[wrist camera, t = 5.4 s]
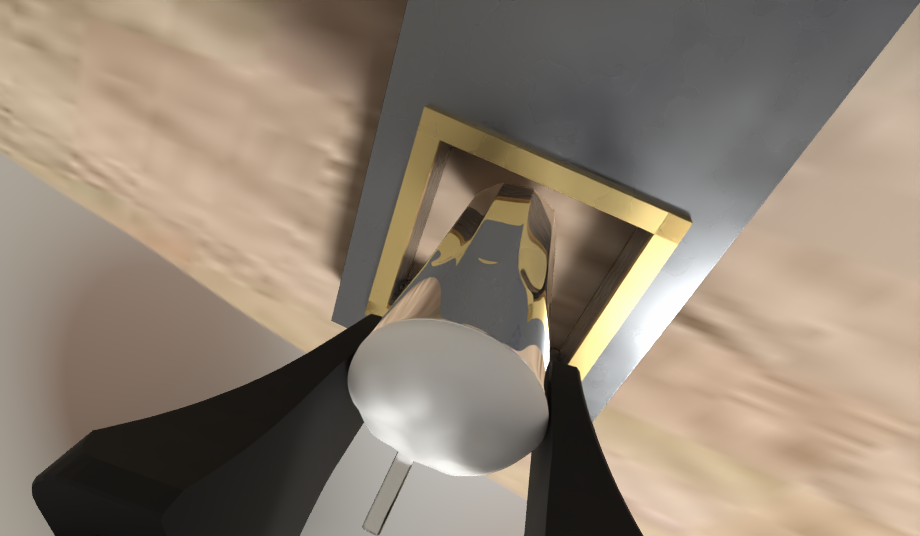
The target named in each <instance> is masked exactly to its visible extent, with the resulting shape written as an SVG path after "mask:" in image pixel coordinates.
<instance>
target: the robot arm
mask: <svg viewBox="0 0 920 536" xmlns="http://www.w3.org/2000/svg"><path fill="white" fill-rule="evenodd" d="M381 319H382V316H378V315H375V314H370V315H368V316H366V317H365V318H363V319H361V320H360V321H358V322H357V323H355V324H354V325H352V326H350V327H349V328H347V329H346V330H344V331H343V332H341V333H340V334H338V335H336V336H335V337H333V338H332V339H330V340H328V341H327V342H325V343H324V344H322V345H320V346H319V347H317V348H315V349H314V350H312V351H310V352H309V353H307V354H305V355H303V356H302V357H300V358H298V359H296V360H295V361H293V362H291V363H289V364H287V365H285V366H284V367H282V368H280V369H278V370H276V371H274V372H272V373H270V374H268V375H266V376H263V377H261V378H259V379H257V380H254V381H253V382H250V383H248V384H246V385H244V386H241V387H239V388H236V389H233V390H231V391H228V392H225V393H223V394H220V395H217V396H215V397H213V398H209V399H207V400H204V401H201V402H198V403H196V404H193V405H189V406H186V407H183V408H180V409H177V410H173V411H170V412H166V413H163V414H160V415H156V416H152V417H149V418H145V419H141V420H137V421H132V422H128V423H124V424H120V425H116V426H111V427H107V428H103V429H98V430H93V431H92V432H91V433H89V434H88V435H87V436H85V437H84V438H83V439H82V440H81V441H79V442H78V443H77V444H76V445H75V446H73V448H71V449H70V450H69V451H67V452H66V453H65V454H64V455H62V456H61V457H60V458H59V459H58V460H56V461H55V462H54V463H53V464H51V465H50V466H49V467H48V468H47V469H45V470H44V471H43V472H42V473H41V474H39V475H38V476H37V477H36V478H35V480H34V481H33V483H32V496H33V498H34V500H35V502H36V505H37V506H38V508H39V510H40V511H41V513H42V515H43V516H44V518H45V520H46V521H47V523H48V525H49V526H50V528H51V530H52V531H53V533H54V535H55V536H300V534H301V532H302V529H303V527H304V525H305V523H306V521H307V519H308V517H309V515H310V513H311V511H312V509H313V507H314V505H315V503H316V501H317V499H318V497H319V495H320V493H321V491H322V490H323V487H324V486H325V484H326V482H327V480H328V479H329V477H330V475H331V473H332V472H333V470H334V468H335V467H336V465H337V463H338V462H339V461H340V459H341V457H342V456H343V454H344V453H345V451H346V450H347V448H348V446H349V445H350V443H351V442H352V440H353V439H354V437H355V435H356V434H357V432H358V431H359V429H360V428H361V426H362V424H363V423H364V420H363V418H362V416H361V414H360V411H359V410H358V408H357V407H356V406H355V404H354V403H353V401H352V398H351V395H350V392H349V389H348V371H349V367H350V364H351V362H352V359H353V357H354V355H355V353H356V351H357V349H358V348H359V346H360V345H361V343H362V342H363V341H364V340H365V339H366V337H367V336H368V335H369V334H370V332H371V331H372V330H373V329H374V327H375V326H376V325H377V324H378V322H379V321H380V320H381ZM548 411H549V420H548V426H547V431H546V434H545V436H544V438H543V440H542V442H541V443H540V444H539V445H538V447H537V448H536V449H534V450H533V451H532V454H531V465H530V476H529V488H528V499H527V511H526V522H525V534H524V536H643V534H642V533H641V531H640V529H639V528H638V526H637V524H636V522H635V520H634V518H633V516H632V515H631V513H630V511H629V509H628V507H627V505H626V503H625V501H624V499H623V497H622V495H621V493H620V491H619V489H618V487H617V485H616V483H615V480H614V478H613V476H612V474H611V471H610V469H609V467H608V464H607V462H606V459H605V457H604V454H603V452H602V449H601V447H600V444H599V441H598V439H597V436H596V433H595V430H594V427H593V424H592V421H591V418H590V414H589V411H588V408H587V404H586V400H585V396H584V392H583V387H582V382H581V377H580V371H579V369H578V368H577V367H575V366H571V365H567V364H564V363H560V362H556V361H553V364H552V368H551V371H550V375H549V399H548Z"/></svg>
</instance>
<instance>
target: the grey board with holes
mask: <svg viewBox="0 0 920 536" xmlns="http://www.w3.org/2000/svg"><path fill="white" fill-rule="evenodd" d="M919 3H920V0H408V2H407V6H406V10H405V14H404V18H403V23H402V27H401V31H400V35H399V39H398V44H397V48H396V52H395V56H394V60H393V65H392V69H391V73H390V77H389V81H388V85H387V90H386V94H385V98H384V102H383V106H382V111H381V115H380V119H379V123H378V127H377V132H376V136H375V140H374V144H373V148H372V153H371V157H370V161H369V165H368V169H367V173H366V178H365V182H364V186H363V190H362V194H361V199H360V203H359V207H358V211H357V215H356V220H355V224H354V228H353V232H352V236H351V241H350V245H349V249H348V253H347V257H346V262H345V266H344V270H343V274H342V278H341V282H340V287H339V291H338V295H337V299H336V303H335V308H334V312H333V316H332V320H331V321H333V322H335V323H337V324H340V325H342V326H344V327H346V328H349V327H350V326H352V325H354V324H355V323H357V322H358V321H360V320H361V319H363V318H365V317H366V316H368V315H370V314H375V315H378V316H382V317H383V316H384V315H385V314H386V312H387V311H388V310H389V309H390V307H391V306H392V305H393V304H394V302H395V301H396V300H397V299H398V297H399V296H400V295H401V294H402V292H403V291H404V290H405V289H406V287H407V286H408V285H409V284H410V282H408V281H406V280H407V277H408V274H409V271H410V268H411V265H412V262H413V259H414V256H415V253H416V251H417V248H418V245H419V242H420V239H421V236H422V233H423V230H424V227H425V224H426V221H427V218H428V215H429V212H430V209H431V206H432V203H433V200H434V197H435V194H436V191H437V188H438V185H439V182H440V179H441V176H442V173H443V170H444V167H445V164H446V161H447V158H448V155H449V152H450V149H451V146H455V147H457V148H459V149H462V150H464V151H466V152H468V153H471V154H473V155H475V156H478V157H480V158H482V159H484V160H487V161H489V162H491V163H494V164H496V165H498V166H500V167H503V168H505V169H507V170H510V171H512V172H514V173H516V174H519V175H521V176H523V177H525V178H528V179H530V180H532V181H535V182H537V183H539V184H541V185H544V186H546V187H548V188H551V189H553V190H555V191H557V192H560V193H562V194H564V195H567V196H569V197H571V198H573V199H576V200H578V201H580V202H583V203H585V204H587V205H589V206H592V207H594V208H596V209H599V210H601V211H603V212H605V213H608V214H610V215H612V216H615V217H617V218H619V219H621V220H624V221H626V222H628V223H630V224H633V225H635V226H637V228H636V230H635V231H634V233H633V235H632V236H631V238H630V239H629V241H628V243H627V244H626V246H625V247H624V249H623V250H622V252H621V254H620V255H619V257H618V258H617V260H616V262H615V263H614V265H613V266H612V268H611V269H610V271H609V273H608V274H607V276H606V277H605V279H604V281H603V282H602V284H601V285H600V287H599V288H598V290H597V292H596V293H595V295H594V296H593V298H592V300H591V301H590V303H589V304H588V306H587V307H586V309H585V311H584V312H583V314H582V315H581V317H580V319H579V320H578V322H577V323H576V325H575V326H574V328H573V330H572V331H571V333H570V334H569V336H568V338H567V339H566V341H565V342H564V344H563V345H562V347H561V349H560V350H559V351H558V350H556V349H554V348H551V347H550V362H549V375H550V371H551V368H552V364H553V361H556V362H560V363H564V364H567V365H571V366H575V367H577V368H578V369H579V371H580V377H581V382H582V387H583V392H584V396H585V400H586V404H587V408H588V411H589V414H590V418H591V421H592V422H593V421H594V419H595V418H596V417H597V416H598V414H599V413H600V412H601V410H602V409H603V408H604V407H605V405H606V404H607V403H608V401H609V400H610V399H611V398H612V396H613V395H614V394H615V392H616V391H617V390H618V389H619V387H620V386H621V385H622V383H623V382H624V381H625V380H626V378H627V377H628V376H629V375H630V373H631V372H632V371H633V369H634V368H635V367H636V366H637V364H638V363H639V362H640V360H641V359H642V358H643V357H644V355H645V354H646V353H647V351H648V350H649V349H650V348H651V346H652V345H653V344H654V342H655V341H656V340H657V339H658V337H659V336H660V335H661V333H662V332H663V331H664V330H665V328H666V327H667V326H668V325H669V323H670V322H671V321H672V319H673V318H674V317H675V316H676V314H677V313H678V312H679V310H680V309H681V308H682V307H683V305H684V304H685V303H686V301H687V300H688V299H689V298H690V296H691V295H692V294H693V292H694V291H695V290H696V289H697V287H698V286H699V285H700V283H701V282H702V281H703V280H704V278H705V277H706V276H707V275H708V273H709V272H710V271H711V269H712V268H713V267H714V266H715V264H716V263H717V262H718V260H719V259H720V258H721V257H722V255H723V254H724V253H725V251H726V250H727V249H728V248H729V246H730V245H731V244H732V242H733V241H734V240H735V239H736V237H737V236H738V235H739V233H740V232H741V231H742V230H743V228H744V227H745V226H746V224H747V223H748V222H749V221H750V219H751V218H752V217H753V216H754V214H755V213H756V212H757V210H758V209H759V208H760V207H761V205H762V204H763V203H764V201H765V200H766V199H767V198H768V196H769V195H770V194H771V192H772V191H773V190H774V189H775V187H776V186H777V185H778V183H779V182H780V181H781V180H782V178H783V177H784V176H785V174H786V173H787V172H788V171H789V169H790V168H791V167H792V166H793V164H794V163H795V162H796V160H797V159H798V158H799V157H800V155H801V154H802V153H803V151H804V150H805V149H806V148H807V146H808V145H809V144H810V142H811V141H812V140H813V139H814V137H815V136H816V135H817V133H818V132H819V131H820V130H821V128H822V127H823V126H824V124H825V123H826V122H827V121H828V119H829V118H830V117H831V116H832V114H833V113H834V112H835V110H836V109H837V108H838V107H839V105H840V104H841V103H842V101H843V100H844V99H845V98H846V96H847V95H848V94H849V92H850V91H851V90H852V89H853V87H854V86H855V85H856V83H857V82H858V81H859V80H860V78H861V77H862V76H863V74H864V73H865V72H866V71H867V69H868V68H869V67H870V66H871V64H872V63H873V62H874V60H875V59H876V58H877V57H878V55H879V54H880V53H881V51H882V50H883V49H884V48H885V46H886V45H887V44H888V42H889V41H890V40H891V39H892V37H893V36H894V35H895V33H896V32H897V31H898V30H899V28H900V27H901V26H902V24H903V23H904V22H905V21H906V19H907V18H908V17H909V15H910V14H911V13H912V12H913V10H914V9H915V8H916V7H917V5H918V4H919Z"/></svg>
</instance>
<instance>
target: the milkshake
mask: <svg viewBox="0 0 920 536" xmlns="http://www.w3.org/2000/svg"><path fill="white" fill-rule="evenodd" d="M555 250H556V228H555V216H554V209H553V208H552V207H551V206H550V205H549V204H548V203H547V202H546V201H545V200H544V199H543V198H542V197H541V196H540V195H539V193H538V192H537V191H536V190H535V189H533V188H529V187H525V186H520V185H516V184H512V183H508V182H503V183H500V184H497V185H495V186H492V187H490V188H487V189H484V190H482V191H479V192H478V193H477V194H476V195H475V197H474V198H473V199H472V201H471V202H470V204H469V205H468V206H467V208H466V209H465V210H464V212H463V213H462V215H461V216H460V217H459V219H458V220H457V221H456V223H455V224H454V226H453V227H452V228H451V230H450V231H449V232H448V234H447V235H446V237H445V238H444V239H443V241H442V242H441V243H440V245H439V246H438V248H437V249H436V250H435V252H434V253H433V254H432V256H431V257H430V258H429V260H428V261H427V262H426V264H425V265H424V266H423V268H422V269H421V270H420V271H419V273H418V274H417V275H416V276H415V278H414V279H413V280H412V281H411V282H410V284H409V285H408V286H407V287H406V289H405V290H404V291H403V292H402V294H401V295H400V296H399V297H398V299H397V300H396V301H395V302H394V304H393V305H392V306H391V307H390V309H389V310H388V311H387V312H386V314H385V315H384V316H383V317H382V319H381V320H380V321H379V322H378V324H377V325H376V326H375V327H374V329H373V330H372V331H371V332H370V334H369V335H368V336H367V337H366V339H365V340H364V341H363V342H362V343H361V345H360V346H359V348H358V349H357V351H356V353H355V355H354V357H353V359H352V362H351V364H350V367H349V371H348V389H349V392H350V395H351V398H352V401H353V403H354V404H355V406H356V407H357V408H358V410H359V411H360V414H361V416H362V418H363V420H364V423H365V424H366V426H367V428H368V429H369V431H370V432H371V433H372V434H373V435H374V436H375V437H377V438H378V439H379V440H381V441H382V442H384V443H386V444H388V445H390V446H391V447H393V448H394V449H396V450H397V451H398V452H397V454H396V456H395V458H394V461H393V463H392V465H391V467H390V469H389V471H388V473H387V475H386V477H385V479H384V481H383V483H382V485H381V488H380V490H379V492H378V494H377V496H376V498H375V500H374V502H373V504H372V507H371V508H370V511H369V513H368V515H367V517H366V519H365V521H364V523H363V526H362V527H363V529H364V530H366V531H368V532H370V533H372V534H374V535H376V536H379V535H380V533H381V531H382V529H383V527H384V525H385V523H386V521H387V519H388V516H389V514H390V512H391V510H392V508H393V506H394V503H395V501H396V499H397V497H398V495H399V493H400V491H401V488H402V486H403V484H404V482H405V479H406V477H407V475H408V473H409V471H410V469H411V467H412V464H413V462H414V461H415V462H417V463H420V464H423V465H426V466H428V467H431V468H433V469H436V470H438V471H440V472H442V473H445V474H448V475H453V476H479V475H486V474H490V473H494V472H497V471H499V470H502V469H504V468H507V467H509V466H511V465H512V464H514V463H516V462H517V461H519V460H520V459H522V458H523V457H525V456H526V455H528V454H529V453H530V452H532V451H533V450H534V449H536V448H537V447H538V445H539V444H540V443H541V442H542V440H543V438H544V436H545V434H546V431H547V426H548V420H549V411H548V399H549V362H550V318H551V304H552V291H553V277H554V264H555Z"/></svg>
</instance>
